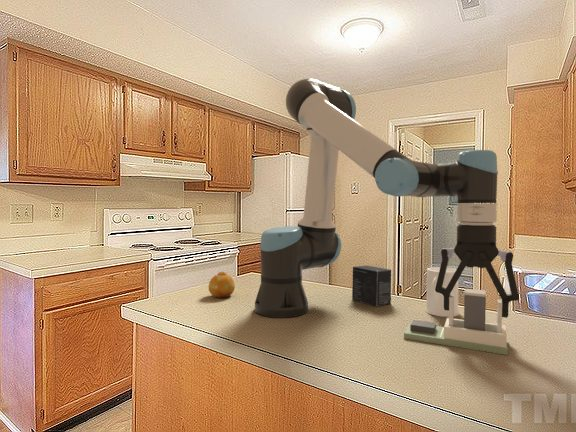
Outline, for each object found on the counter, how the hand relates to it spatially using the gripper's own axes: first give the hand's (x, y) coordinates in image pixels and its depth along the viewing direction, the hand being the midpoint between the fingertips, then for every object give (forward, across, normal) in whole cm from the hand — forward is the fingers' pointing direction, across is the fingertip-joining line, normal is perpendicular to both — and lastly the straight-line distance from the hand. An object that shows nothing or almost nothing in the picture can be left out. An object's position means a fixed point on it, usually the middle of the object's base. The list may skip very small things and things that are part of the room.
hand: (474, 328), depth 80 cm
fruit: (+4, -74, +8) cm, 74 cm away
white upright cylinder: (+3, -9, +20) cm, 22 cm away
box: (+4, -29, +24) cm, 37 cm away
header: (+2, 0, 0) cm, 2 cm away
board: (+3, -4, 0) cm, 5 cm away
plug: (+2, 0, 0) cm, 2 cm away
